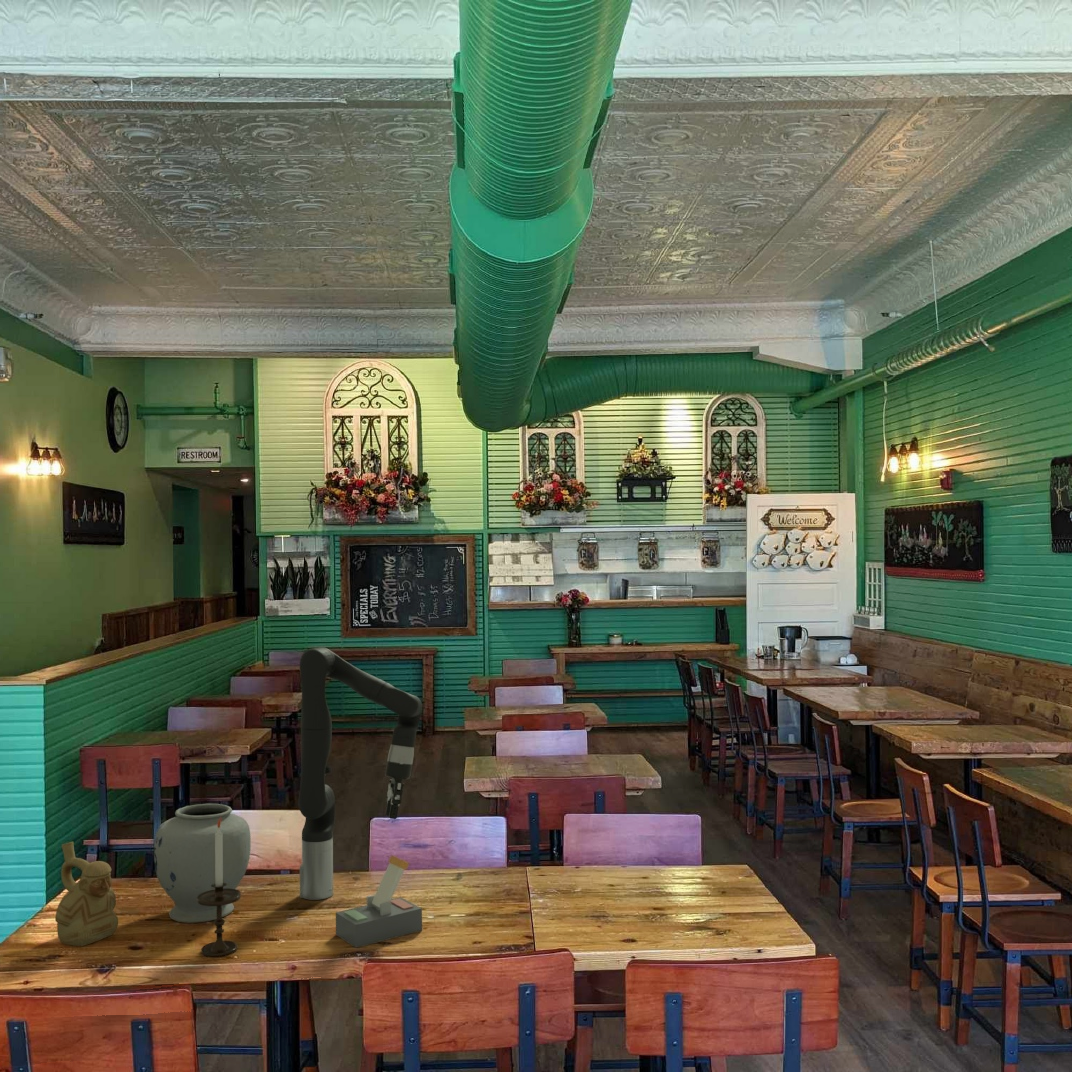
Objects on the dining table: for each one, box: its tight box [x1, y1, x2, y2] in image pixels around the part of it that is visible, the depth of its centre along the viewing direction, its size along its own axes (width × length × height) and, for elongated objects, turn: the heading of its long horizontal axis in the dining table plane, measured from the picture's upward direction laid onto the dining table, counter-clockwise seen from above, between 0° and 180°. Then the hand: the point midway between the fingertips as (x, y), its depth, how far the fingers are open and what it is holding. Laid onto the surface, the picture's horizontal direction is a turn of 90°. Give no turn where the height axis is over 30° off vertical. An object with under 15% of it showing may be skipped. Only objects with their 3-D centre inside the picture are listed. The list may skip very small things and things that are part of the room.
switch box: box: [335, 894, 423, 949], centre depth 273 cm, size 20×12×9 cm, turn 127°
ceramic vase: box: [153, 803, 252, 924], centre depth 291 cm, size 27×27×30 cm
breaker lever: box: [372, 854, 410, 910], centre depth 275 cm, size 2×6×14 cm, turn 37°
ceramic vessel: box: [54, 841, 119, 947], centre depth 273 cm, size 17×20×25 cm
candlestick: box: [197, 817, 242, 958], centre depth 262 cm, size 11×11×35 cm
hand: (390, 817), depth 295 cm, fingers open, 8 cm apart
